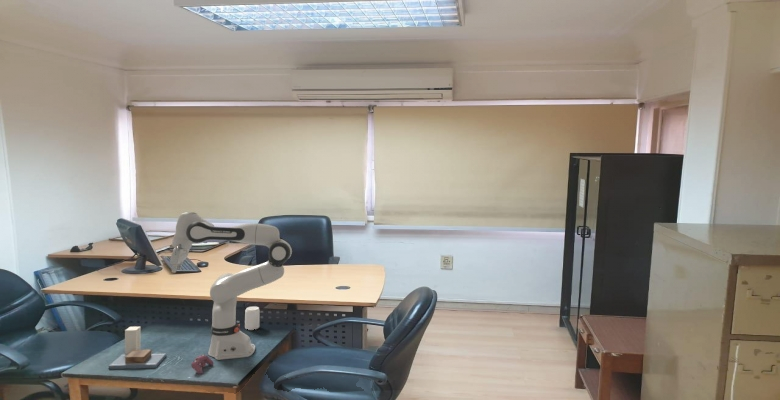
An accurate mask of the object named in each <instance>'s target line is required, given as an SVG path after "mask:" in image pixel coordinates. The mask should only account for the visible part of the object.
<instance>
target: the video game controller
mask: <svg viewBox="0 0 780 400" xmlns="http://www.w3.org/2000/svg"><path fill="white" fill-rule="evenodd" d="M190 364H191V368H192V369H193V370H194V371H195V372H196V373H197V374H199V375H202V374H203V369H204V368H205V367H206V364H207V365H209V366H213V365H214V361H213V360H212V359H211V358H210V357H209V355H207V354H201V355H198V356H197V357H195V358H194V360H193V361H192V362H191V363H190ZM202 368H203V369H202Z"/></svg>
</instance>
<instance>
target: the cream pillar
mask: <svg viewBox="0 0 780 400" xmlns="http://www.w3.org/2000/svg"><path fill="white" fill-rule="evenodd" d="M141 329H142V328H141V326H129V327H128V328H126V329H124V354H129V353H131V352H132V351H133V350H142V349H141V345H142V342H141V341H142V338H141V336H142V334H141V333H142V332H141V331H142V330H141Z"/></svg>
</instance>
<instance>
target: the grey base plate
mask: <svg viewBox="0 0 780 400" xmlns="http://www.w3.org/2000/svg"><path fill="white" fill-rule="evenodd" d="M166 357H167V353H166V352H165V353H164V352H163V353H152V349H148V348H147V349H141V350H133V351H132V352H131V353H129V354H125V353H122V354H121V355H119V357H117V358H116V359H115V360H114V361H113V362H111V363H110V364H109V365H108V369H109V370H123V369H156V368H158V366H159V365H160V364H161V363H162V362H163V361H164V359H165V358H166Z"/></svg>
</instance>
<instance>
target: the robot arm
mask: <svg viewBox="0 0 780 400" xmlns="http://www.w3.org/2000/svg"><path fill="white" fill-rule="evenodd" d="M175 225H176V226H175V233H174V235H173V239H172V244H171V246H172V247H173V250H172V252H171V256H170V260H169V264H170V265H171V273H173V274H175V273H177V270H181V269H182V265H183V263H184V261H185V260H186V259H187V258H188V255H189V253H190V249H192V246H193V243H195V244H199V243H203V242H205V241H209V240H210V241H211V240H212V241H214V240H216V241H232V242H237V243H241V244H247V245H252V246H253V245H254V246H264V247H267V248H268V249H269V250H268V260H267V261H266V262H262V263H260V264H256V265H253V266H250V267H248V268H244V269H242V270H240V271H238V272H236V273H229V272H227V273H224V274H221V275H219V277H217V279H216V280H215V281H214V283H212V284H211V287H210V291H209V297H210V299H211V300H212V301H213V305H212V312H211V313H212V314H211V315H212V316H211V318H212V322H211V323H212V324H211V328H210V336H211V337H210V338H211V341H210V346H209V349H208V353H207V354H208V356H210V357H212V358H214V359H216V360H229V359H239V358H240V359H241V358H249V357H250V356H252V355H253V354H254V353H255V350H256V345H255V344H254V343H252V341H251V338H250V336H249V335H247V334H246V333H244V332H243V331H241V330H240V325H241V324H240V323H239V324H238V323H236V319H237V318H236V316H237V315H236V313H237V312H236V311H237V302H238V296H241V295H244V294H245V293H247V292H249V291H252V290H255V289H258V288H261V287H263V286H266V285H268V284H271V283H273V282H276V281H277V280H279V279H281V278H282V277H283V276H284V274H285V267H284V264H285V263H286V262H287V261H288V260H289V259H290V258H291V256H292V253H293V248H292V245H291V244H290V243H289V242H288V241H287V240H285V239H284V238H282V237H280V236H281V235H280V230H279V228H278V227H277V226H274V225H271V224H267V223H266V224H265V223H258V222H257V223H255V222H254V223H245V224H243V223H242V224H240V225H235V226H227V227H226V226H215V225H214V224H213V223H212V222H209V221H207V220H206V219H204V218H202V217H201V216H200V215H199V214H198V213H197V212H191V211H190V212H188V211H187V212H186V211H185V212H182V213H180V214H179V216H178V218H177V220H176V224H175Z"/></svg>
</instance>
